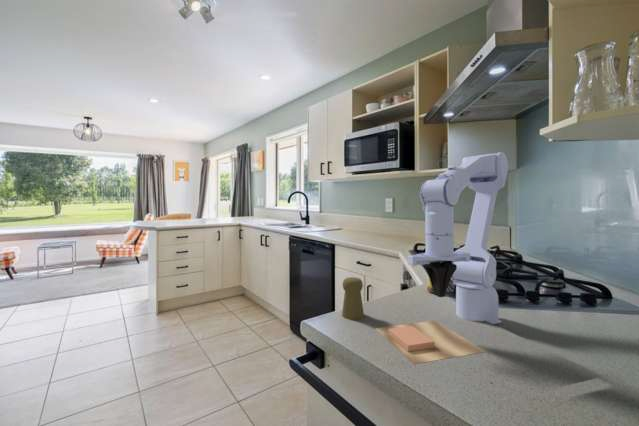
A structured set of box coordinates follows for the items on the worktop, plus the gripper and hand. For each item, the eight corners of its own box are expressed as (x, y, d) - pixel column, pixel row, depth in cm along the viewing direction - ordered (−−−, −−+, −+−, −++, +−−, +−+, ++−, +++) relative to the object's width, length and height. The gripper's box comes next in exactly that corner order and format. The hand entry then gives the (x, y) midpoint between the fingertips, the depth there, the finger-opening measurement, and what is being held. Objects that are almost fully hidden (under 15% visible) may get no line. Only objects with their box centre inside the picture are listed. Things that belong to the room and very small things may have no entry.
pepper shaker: (364, 325, 74) (363, 281, 73) (339, 323, 75) (339, 280, 75) (365, 316, 80) (364, 275, 79) (342, 314, 81) (342, 274, 80)
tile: (412, 325, 67) (388, 328, 65) (434, 341, 59) (407, 345, 58) (412, 331, 67) (388, 334, 65) (434, 348, 59) (407, 352, 58)
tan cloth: (434, 325, 73) (434, 320, 73) (486, 357, 58) (486, 351, 58) (375, 333, 69) (375, 328, 69) (413, 370, 54) (413, 364, 54)
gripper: (421, 237, 59) (421, 305, 59) (480, 234, 63) (480, 297, 63) (402, 234, 66) (402, 294, 66) (457, 231, 69) (457, 288, 70)
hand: (439, 295), depth 65 cm, fingers closed
